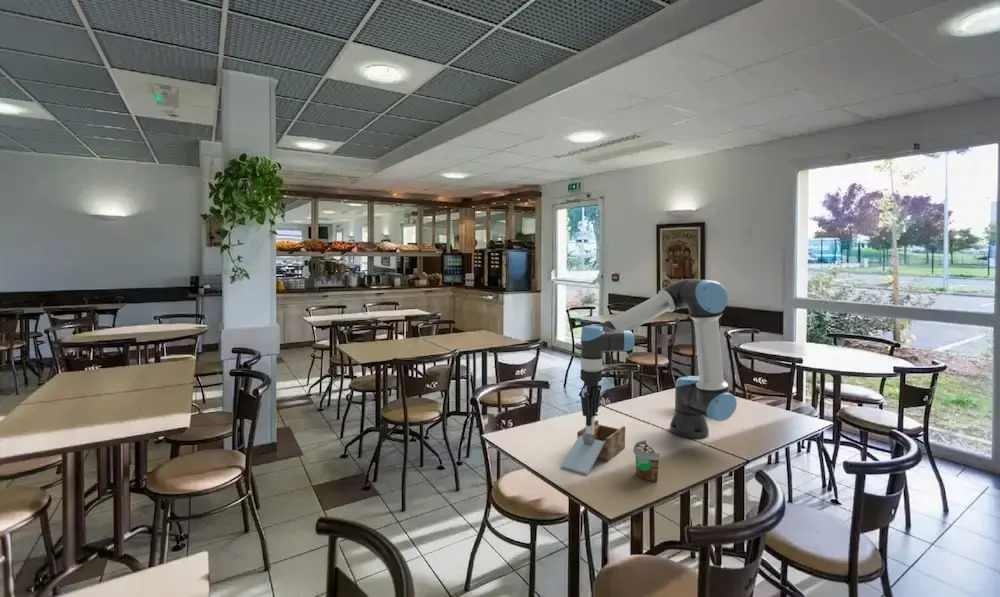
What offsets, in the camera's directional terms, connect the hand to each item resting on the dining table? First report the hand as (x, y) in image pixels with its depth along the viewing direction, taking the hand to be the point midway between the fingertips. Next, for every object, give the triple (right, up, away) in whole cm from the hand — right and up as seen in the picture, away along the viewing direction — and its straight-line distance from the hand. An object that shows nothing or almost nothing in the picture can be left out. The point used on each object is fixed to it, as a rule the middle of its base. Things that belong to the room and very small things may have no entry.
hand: (590, 433), depth 176 cm
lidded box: (+6, -9, +8) cm, 14 cm away
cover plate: (-3, -7, -4) cm, 8 cm away
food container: (+15, -11, -12) cm, 22 cm away
